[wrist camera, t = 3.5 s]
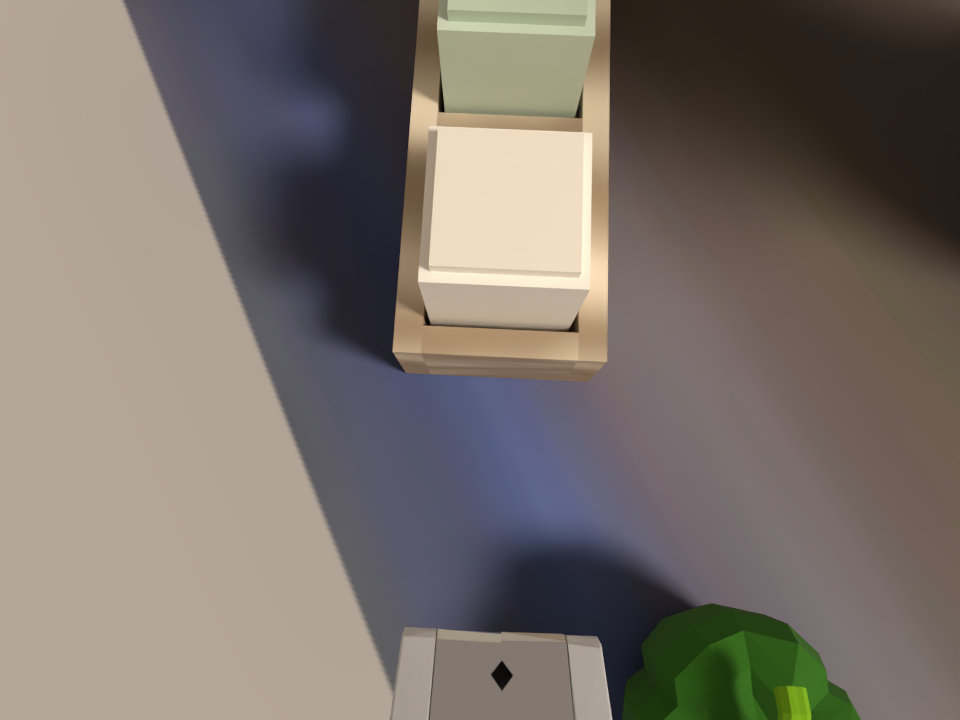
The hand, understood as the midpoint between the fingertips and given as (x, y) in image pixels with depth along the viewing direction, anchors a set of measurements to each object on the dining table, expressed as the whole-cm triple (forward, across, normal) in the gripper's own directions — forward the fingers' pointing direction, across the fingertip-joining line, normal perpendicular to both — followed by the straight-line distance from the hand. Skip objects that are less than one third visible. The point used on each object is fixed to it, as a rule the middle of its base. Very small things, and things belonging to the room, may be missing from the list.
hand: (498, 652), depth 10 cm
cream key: (+21, 0, +3) cm, 21 cm away
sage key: (+28, 0, -4) cm, 28 cm away
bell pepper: (+11, -10, +19) cm, 24 cm away
